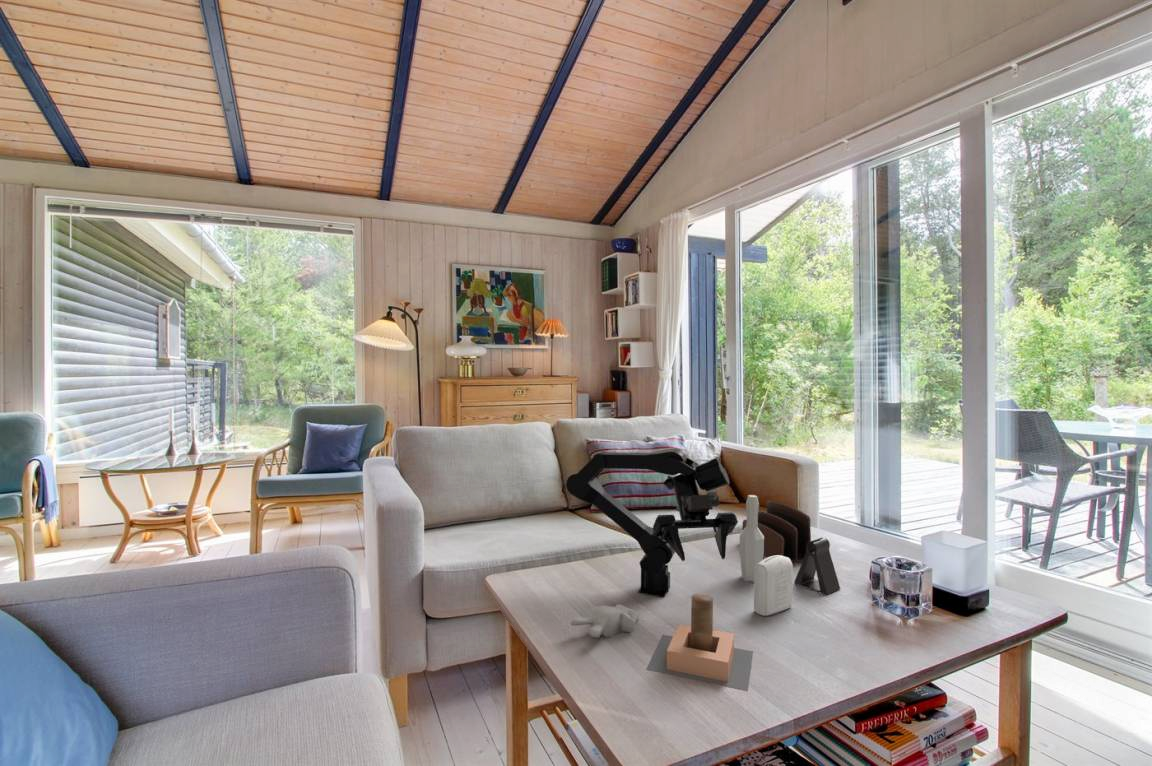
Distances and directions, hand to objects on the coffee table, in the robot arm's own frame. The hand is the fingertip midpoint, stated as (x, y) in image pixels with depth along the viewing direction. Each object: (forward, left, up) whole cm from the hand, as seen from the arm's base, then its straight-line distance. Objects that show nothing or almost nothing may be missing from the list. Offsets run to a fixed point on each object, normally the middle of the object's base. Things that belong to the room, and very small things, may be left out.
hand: (703, 559), depth 123 cm
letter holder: (+14, +52, -14) cm, 56 cm away
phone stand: (+24, +29, -14) cm, 40 cm away
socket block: (+2, -18, -13) cm, 22 cm away
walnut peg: (+2, -18, -13) cm, 22 cm away
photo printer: (+14, +11, -14) cm, 23 cm away
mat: (+2, -18, -14) cm, 23 cm away
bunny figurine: (-18, -13, -14) cm, 26 cm away
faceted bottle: (+8, +28, -14) cm, 33 cm away
